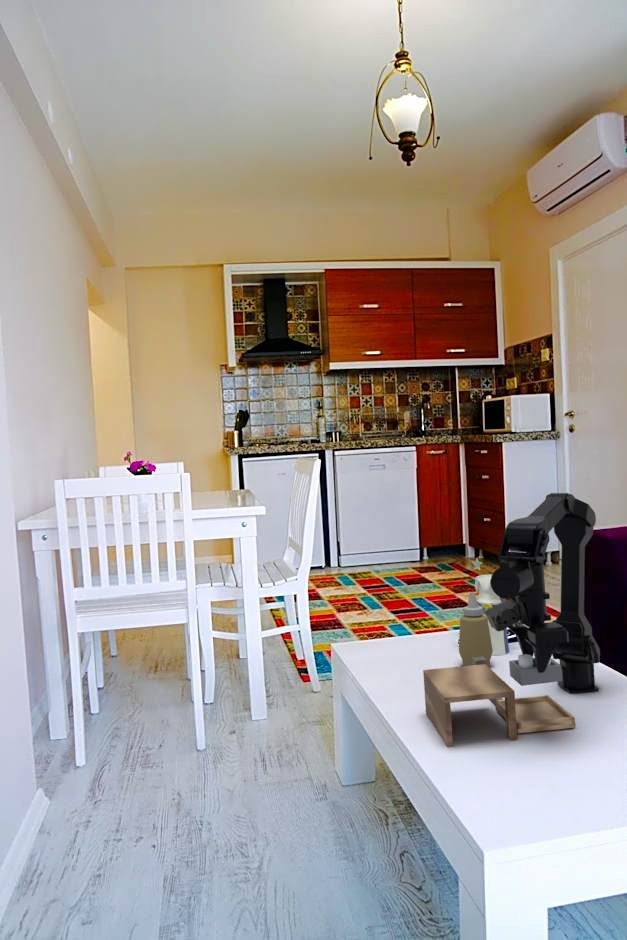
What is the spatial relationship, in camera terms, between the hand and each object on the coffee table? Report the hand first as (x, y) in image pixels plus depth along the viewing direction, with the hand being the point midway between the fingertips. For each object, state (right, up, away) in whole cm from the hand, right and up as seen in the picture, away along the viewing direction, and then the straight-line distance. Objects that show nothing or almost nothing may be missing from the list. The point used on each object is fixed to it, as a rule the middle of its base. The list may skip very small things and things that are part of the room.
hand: (534, 667), depth 132 cm
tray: (0, -2, 0) cm, 2 cm away
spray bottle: (+4, -9, +46) cm, 47 cm away
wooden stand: (-12, -11, +1) cm, 17 cm away
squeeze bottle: (-3, -10, +35) cm, 37 cm away
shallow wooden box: (0, -10, +9) cm, 14 cm away
